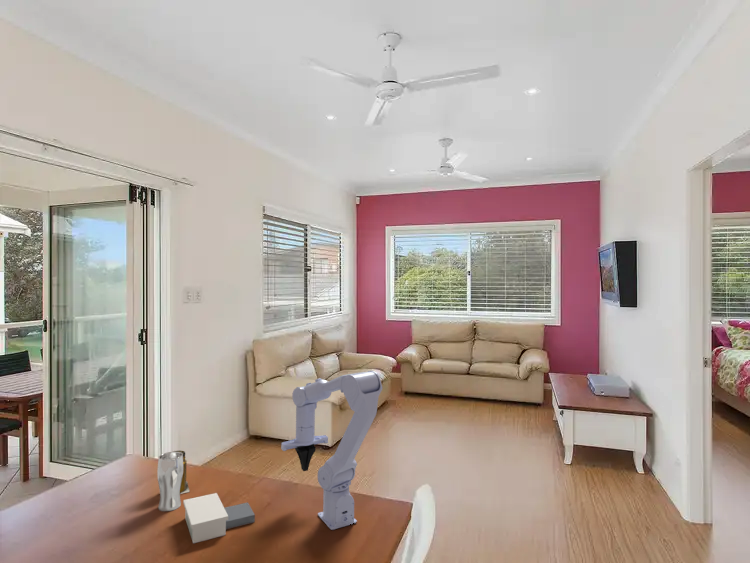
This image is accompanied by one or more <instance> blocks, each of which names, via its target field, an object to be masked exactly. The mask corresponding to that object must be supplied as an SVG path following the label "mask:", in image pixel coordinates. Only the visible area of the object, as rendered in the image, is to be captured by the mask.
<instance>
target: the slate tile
mask: <svg viewBox="0 0 750 563" xmlns="http://www.w3.org/2000/svg"><path fill="white" fill-rule="evenodd" d="M224 508H225V510H226V512H227V514H228V520H226V530H228V529H232V528H236V527H240V526H244V525H248V524H253V523H255V521H256V518H255V517H256V515H255V512H254V511H253V509H252V507H251V505H250V504H249V502H244V503H240V504H235V505H230V506H227V507H224Z"/></svg>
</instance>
